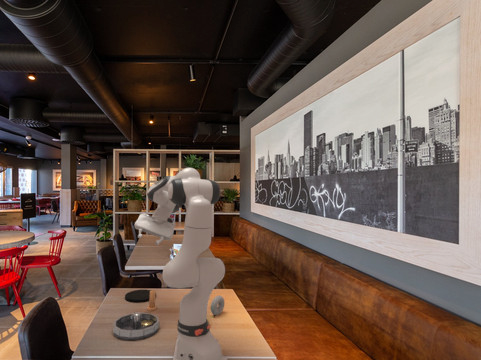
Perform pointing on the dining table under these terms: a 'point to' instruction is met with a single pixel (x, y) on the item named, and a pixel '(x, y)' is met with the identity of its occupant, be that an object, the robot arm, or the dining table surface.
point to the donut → (220, 302)
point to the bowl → (135, 326)
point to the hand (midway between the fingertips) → (147, 240)
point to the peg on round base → (152, 301)
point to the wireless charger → (138, 296)
